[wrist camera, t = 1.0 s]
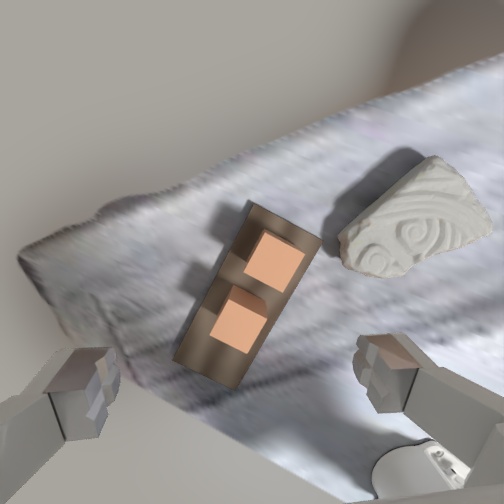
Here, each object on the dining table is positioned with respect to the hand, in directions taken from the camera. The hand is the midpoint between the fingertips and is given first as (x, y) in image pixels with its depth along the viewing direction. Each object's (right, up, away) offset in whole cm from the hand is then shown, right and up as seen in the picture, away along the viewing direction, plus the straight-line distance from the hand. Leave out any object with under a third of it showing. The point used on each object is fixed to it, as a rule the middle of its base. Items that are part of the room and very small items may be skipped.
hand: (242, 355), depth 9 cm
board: (-1, -5, +37) cm, 37 cm away
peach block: (+4, +3, +34) cm, 34 cm away
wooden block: (-2, -6, +36) cm, 36 cm away
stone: (+25, +9, +34) cm, 43 cm away
